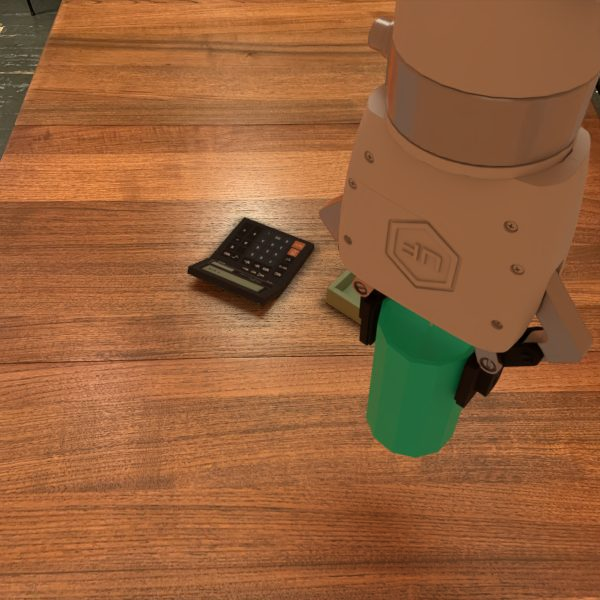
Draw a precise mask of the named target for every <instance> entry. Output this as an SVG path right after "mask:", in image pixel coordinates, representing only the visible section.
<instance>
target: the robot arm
mask: <svg viewBox="0 0 600 600" xmlns="http://www.w3.org/2000/svg"><path fill="white" fill-rule="evenodd" d="M394 5H395V7H394V18H393V19H392V18H391V17H388V16H385V15H379V16H378V17H377V18H375V20H374V21H373V23H372V24H371V27H370V28H369V31H368V36H367V44H368V48H370V49H372V50H374V51H376V52H379V53H380V54H381V56H382V57H383V58H384V59H386V69H385V80H384V83H382V84H381V85H379V86H378V87H376V88H375V89H374V90H373V91H372V92H371V93H370V95H369V96H368V99H367V102H366V104H365V108H364V110H363V113H362V117H361V119H360V123H359V126H358V129H357V132H356V136H355V139H354V143H353V147H352V150H351V154H350V158H349V161H348V166H347V171H346V177H345V182H344V189H343V193H342V194H340V195H338V196H336V197H334V198H332V199H331V200H330V201H329V202H328V203H326V204H325V205H324V206H323V207H321V209H319V210H318V216H319V218H320V220H321V222H322V223H323V224H324V226H325V227H326V229H327V230H328V232H329V234H330V235H331V237H332V238H333V240H334V241H337V250H338V254H339V258H340V260H341V263H342V264H343V265H344V267H345V268H346V270H347V269H348V270H349V271H350V272H351V273H353V274H354V276H355V278H354V280H353V281H352V286H353V289H354V290H355V291H356V293H358V294H359V295H360V296H361V297H360V308H359V318H360V319H361V325H360V327H359V337H358V342H360V343H361V344H363V345H364V346H372V345H373V344H375V340H376V333H377V325H378V319H379V315H380V310H381V306H382V302H383V300H384V299H386V298H387V297H389V298H391V299H393V300H394V301H396V302H398V303H399V304H401V305H402V306H404V307H406V308H408V309H409V310H411V311H413V312H414V313H416V314H418V315H419V316H421V317H423V318H424V319H426V320H428V321H429V322H431V323H433V324H435V325H436V326H438V327H440V328H442V329H443V330H445V331H447V332H448V333H450V334H452V335H454V336H455V337H457V338H459V339H461V340H463V341H464V342H466V343H468V344H470V345H472V346H474V347H475V352H474V353H473V354H472V355H471V357H470V358H469V359H468V360H467V362H466V363H465V365H464V368H463V371H462V374H461V377H460V381H459V384H458V387H457V390H456V393H455V396H454V400H456V404H457V405H459V406H461V407H462V409H465V408H466V407H467V406H468V404H469V403H470V402H471V401H472V400H473V398H474V396H475V395H477V393H478V394H479V395H481V396H483V397H484V398H486V397H488V395H490V393H491V392H492V391H493V390H494V388H495V386H496V385H497V383H498V382H499V380H500V378H501V376H502V373H503V371H504V368H518V367H519V368H521V367H523V368H525V367H536V366H538V365H539V364H540V363H541V362H545V363H546V362H547V363H548V364H577V363H580V362H581V361H582V360H583V359H584V357H585V356H586V355H587V353H588V352H589V350H590V349H591V347H592V346H593V344H594V338H593V336H592V334H591V332H590V330H589V329H588V327H587V325H586V323H585V321H584V320H583V318H582V315H581V314H580V312H579V310H578V308H577V306H576V305H575V303H574V301H573V299H572V296H571V295H570V293H569V291H568V290H567V288H566V285H565V284H564V282H563V280H562V279H561V275H562V272H563V270H564V268H565V264H566V261H567V258H568V256H569V252H570V249H571V246H572V242H573V240H574V235H575V232H576V229H577V226H578V222H579V217H580V213H581V209H582V204H583V200H584V195H585V189H586V184H587V179H588V173H589V172H588V171H589V165H590V155H591V145H592V144H591V141H592V140H591V135H590V133H589V131H587V129H585V128H584V127H582V124H583V121H584V119H585V116H586V113H587V111H588V108H589V106H590V103H591V100H592V97H593V94H594V91H595V89H596V86H597V83H598V81H599V79H600V0H395V4H394ZM535 316H536V318H537V320H538V322H539V324H540V325H541V326H537V325H536V326H530V324H531V323H532V321H533V319H534V317H535Z"/></svg>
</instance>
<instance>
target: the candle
mask: <svg viewBox="0 0 600 600" xmlns="http://www.w3.org/2000/svg"><path fill="white" fill-rule="evenodd" d="M474 352H475V347H474V346H472V345H470V344H468V343H466V342H464V341H463V340H461V339H459V338H457V337H455V336H454V335H452V334H450V333H448V332H447V331H445V330H443V329H442V328H440V327H438V326H436V325H435V324H433V323H431V322H429V321H428V320H426V319H424V318H423V317H421V316H419V315H418V314H416V313H414V312H413V311H411V310H409V309H408V308H406V307H404V306H402V305H401V304H399V303H398V302H396V301H394V300H393V299H391V298H389V297H387V298H386V299H384V300H383V302H382V306H381V310H380V315H379V319H378V325H377V333H376V340H375V342H374V349H373V357H372V365H371V366H372V367H371V372H370V373H371V374H370V381H369V387H368V388H369V389H368V397H367V404H366V405H367V406H366V413H365V419H366V421H367V425H368V427H369V429H370V432H371V435H372V437H373V439H375V440H376V441H377V442H378V443H379V444H381V445H382V446H384V448H385V449H387V450H388V451H389V452H390V453H393V454H397V455H401V456H405V457H409V458H414V459H418V458H421V457H425V456H429V455H432V454H437V453H440V451H441V450H442V448H444V447H445V445H446V444H447V443H448V442H449V441H450V440H451V439H452V438H453V436H454V434H455V431H456V427H457V425H458V421H459V419H460V416H461V414H462V410H463V408H462V407H461V406H459V405H457V404H456V400H454V396H455V393H456V390H457V387H458V384H459V381H460V377H461V374H462V371H463V368H464V365H465V363H466V362H467V360H468V359H469V358H470V357H471V355H472V354H473V353H474Z"/></svg>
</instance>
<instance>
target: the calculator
mask: <svg viewBox="0 0 600 600" xmlns="http://www.w3.org/2000/svg"><path fill="white" fill-rule="evenodd" d="M314 250H315V243H313V242H311V241H309V240H305V239H303V238H301V237H298V236H295V235H292V234H290V233H287V232H284V231H282V230H280V229H277V228H275V227H272V226H269V225H266V224H264V223H262V222H259V221H256V220H254V219H251V218H248V217H246V216H243V218H242V219H241V220H240V221H239V222H238V223H237V225H236V226H235V227H234V228H233V229H232V230H231V232H230V233H229V234H228V235H227V236H226V238H225V239H224V240H223V241H222V242H221V244H220V245H219V246H218V247H217V248H216V249H215V251H213V253H212V254H211V255H210V256H209V257H207V258H204V259H202V260H199V261H197V262H195V263H193V264H191V265H188V267H187V272H186V274H187V275H189V276H191V277H193V278H196V279H198V280H201V281H204V282H205V283H208V284H210V285H213V286H215V287H218V288H219V289H221V290H224V291H227V292H229V293H232V294H234V295H237V296H238V297H241V298H242V299H243V298H244V299H246V300H247V301H250V302H252V303H255V304H257V305H260V306H263V307H264V306H265V305H266V304H268V303H269V302H271V301H272V300H274V299H275V298H277V297H278V296H280V295H281V294H283V293H284V292H285V290H286V289H287V287H288V286H289V284H290V283H291V282H292V281H293V279H294V278H295V276H296V275H297V274H298V272H299V271H300V269H301V268H302V267H303V265H304V264H305V262H306V261H307V260H308V258H309V257H310V255H311V254H312V253H313V252H314Z"/></svg>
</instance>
